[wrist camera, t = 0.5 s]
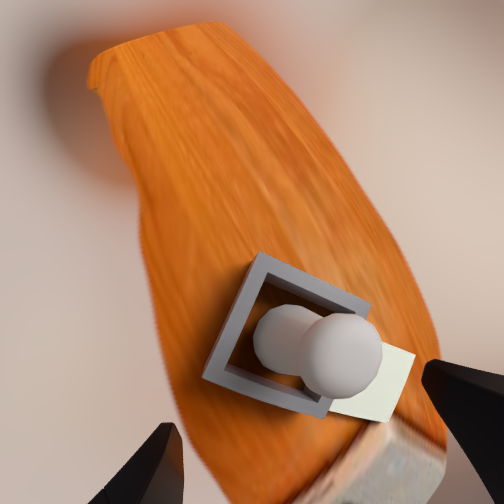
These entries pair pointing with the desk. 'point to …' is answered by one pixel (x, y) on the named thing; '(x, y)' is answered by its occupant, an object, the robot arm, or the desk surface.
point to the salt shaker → (320, 349)
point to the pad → (379, 388)
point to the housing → (258, 272)
